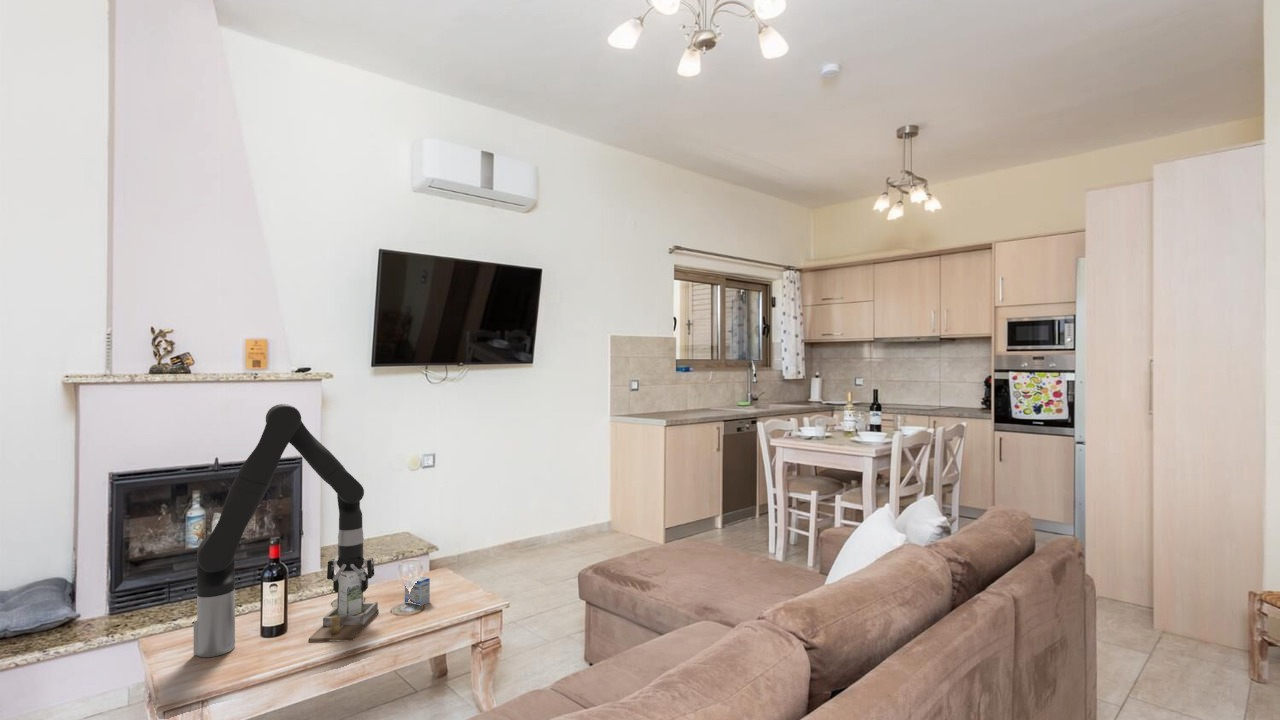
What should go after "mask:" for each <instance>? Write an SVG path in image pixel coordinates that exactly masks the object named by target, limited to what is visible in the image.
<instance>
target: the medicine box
mask: <svg viewBox="0 0 1280 720" xmlns="http://www.w3.org/2000/svg"><path fill="white" fill-rule="evenodd" d="M430 580H431V579H430V578H429V577H424V576H420V579H419V580H418V581H417V583H415V585H414V586H413V588H412V589H411V592H410V594H409V591H408V589H407V588H406V586H405V585H404V603H405V602H408V600H409V599H410V601H411V602H413V603H416V604H420V605H422V606H425V605H427V604H429V603H430V601H431V600H430V598H431V597H430V596H431V595H430V594H431V593H430V592H431V588H430V586H431V583H430V582H431V581H430ZM424 604H425V605H424Z"/></svg>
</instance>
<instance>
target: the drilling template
mask: <svg viewBox="0 0 1280 720" xmlns="http://www.w3.org/2000/svg"><path fill="white" fill-rule="evenodd" d="M378 604H379V603H378V601H376V602H375V601H373V602H370V601H369V602H363V613H361V614H358V615H355V616H340V615H338V614H337V608H338V604H337V605H335V607H333V608H332V610H331V611H329V612H328V613H327V614H326V615H325V616H324V617H322V626H321V627H319V628H318V629H317V630H316V631H315V632H314V633H313V634H312V635H311V636H310V637H308V643H314V642H313V641H324V642H330V641H329V640H349V641H350V640H353V639H354V640H355V639H356V638H357V636H358V635H359V634H361V632H362V631H363V630H364V629H365V628H366V626H368V624H369V623H371V622H372V620H373V619H374V618H375V617H376V616H377V615H378V613H379V611H380V610H379V609H378ZM376 614H377V615H376ZM354 640H353V641H354ZM349 641H348V642H349Z"/></svg>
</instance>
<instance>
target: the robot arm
mask: <svg viewBox="0 0 1280 720" xmlns="http://www.w3.org/2000/svg"><path fill="white" fill-rule="evenodd" d="M289 444H290V445H291V446H292V447H293V448H294V449H295V450H296V451H297V452H298V453H299V454H300V455H301V457H302V458H303V459H304V461H306V463H307V464H308V466H310V467H311V468H312V470H313V471H314V472H315V473H316V474H317V475H318V476H319V477H320V478H321V480H323V481H324V482H325V483H326V484H328V485H329V486H330V487H331V488H332V490H334V492H335V493H336V495H337V497H336V498H337V506H338V534H337V559H334V558H331V559H329V561H328V562H327V571H326V573H327V574H326V579H327V580H331V581H332V584H333V585H332V587H333V588H332V589H333V591H334V593H335V594H338V578H339V576H340V574H341V571H355V572H356V573H357V575H358V576H360V577H361V579H362V592H363V593H365V592H366V591H367V589H368V588H369V580H370V579H372V578H373V577H374V576H375V563H374V558H373V557H371V558H367V559H365V558H364V541H365V540H364V538H365V537H364V529H363V512H362V509H361V501H362V499H363V497H364V494H365V489H364V486H363V485H362V484H361V483H360V482H359V481H358V480H357V479H356V478H355V476H353V475H352V474H351V473H349V471H347V469H346V468H345V466H344V465H343V464H342V463H341V462H340V461H339V459H337V457H335V455H333V453H332V452H331V451H330V450H328V448H326V446H324V445H323V444H322V443H321V442H320V441H319V440H318V439H317V438H316V437H314V435H313V434H312V433H311V432H310V431H309V429H308V428H307V427H306V425H305V424H304V422H303V421H302V414H301V413H300V411H299V410H298V409H297V408H296V407H295V406H293V405H291V404H286V403H279V404H276V405H274V406H272V407H271V408H269V409H268V411H267V413H266V415H265V426H264V429H263V432H262V434H261V436H260V439H259V440H258V443H257V445H256V447H254V449H253V451H252V452H251V453H250V455H249V456H248V457H247V458H246V460H245V461H244V463H243V464H242V465H241V467H240V469H239V471H238V472H237V474H236V476H235V478H234V479H233V482H232V484H231V486H230V489H229V490H228V493H227V495H226V497H225V500H224V504H223V507H222V510H221V514H220V516H219V519H218V522H217V523H216V524H215V527H214V528H213V531H212V532H211V534H210V535H209V536H208V537H206V538H205V539H204V540H202V541H201V542H200V544H199V545H198V548H197V551H196V574H197V575H196V621H194V622H193V656H198V657H199V658H212V657H213V658H214V657H217V656H221V655H224V654H227V653H229V652H231V651H232V650H234V649H235V647H236V575H235V574H236V573H235V558H236V557H235V556H236V553H237V550H238V547H239V545H240V542H241V540H242V538H243V534H244V532H245V530H246V528H247V526H248V524H249V522H250V521H251V519H252V518H253V516H254V515H255V513H256V511H257V510H258V507H259V506H260V504H261V502H262V500H263V499H264V497H265V495H266V493H267V490H268V489H269V487H270V485H271V482H272V480H273V478H274V475H275V473H276V471H277V469H278V466H279V463H280V460H281V458H282V455H283V453H284V451H285V450H286V448H287V447H288V445H289ZM364 564H365V566H366V567H367V568H366V569H365V567H364V566H363V565H364ZM336 566H338V568H339V570H338V571H337V572H336V574H335V567H336ZM360 568H361V569H362V570H363V571H360V570H359V569H360Z"/></svg>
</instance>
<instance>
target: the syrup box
mask: <svg viewBox="0 0 1280 720" xmlns="http://www.w3.org/2000/svg"><path fill="white" fill-rule="evenodd" d="M359 570H360V571H363V570H362V569H361V568H360V569H359ZM363 603H364V592H362V579H361V577H360V576H358V575H357V573H356V572H355V571H341V574H340V576H339V578H338V592H337V605H338V608H337V614H338V615H340V616H355V615H358V614H361V613H363Z"/></svg>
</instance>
